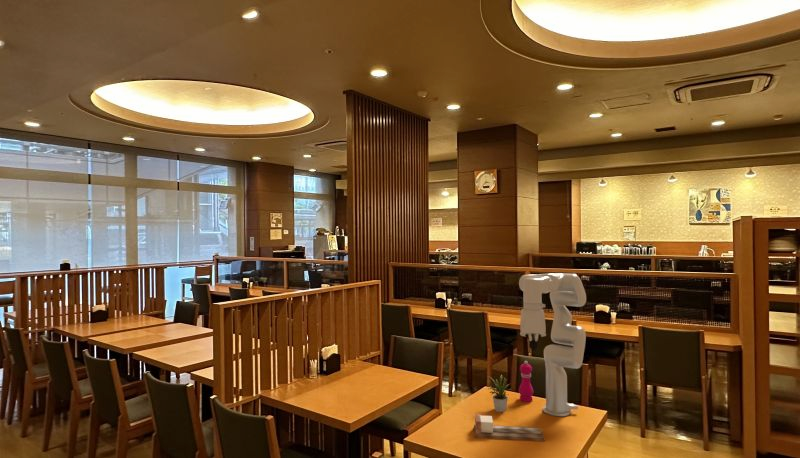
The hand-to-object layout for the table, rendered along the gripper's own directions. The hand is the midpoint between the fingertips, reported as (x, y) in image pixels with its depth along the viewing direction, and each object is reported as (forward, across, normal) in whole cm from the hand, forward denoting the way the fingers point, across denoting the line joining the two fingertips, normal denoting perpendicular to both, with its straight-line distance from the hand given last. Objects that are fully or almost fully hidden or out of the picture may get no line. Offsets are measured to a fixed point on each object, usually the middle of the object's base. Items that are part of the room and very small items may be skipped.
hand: (533, 349), depth 193 cm
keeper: (+34, +20, +3) cm, 39 cm away
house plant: (+36, +13, -25) cm, 46 cm away
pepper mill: (+36, -2, -39) cm, 54 cm away
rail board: (+35, +11, +3) cm, 37 cm away
